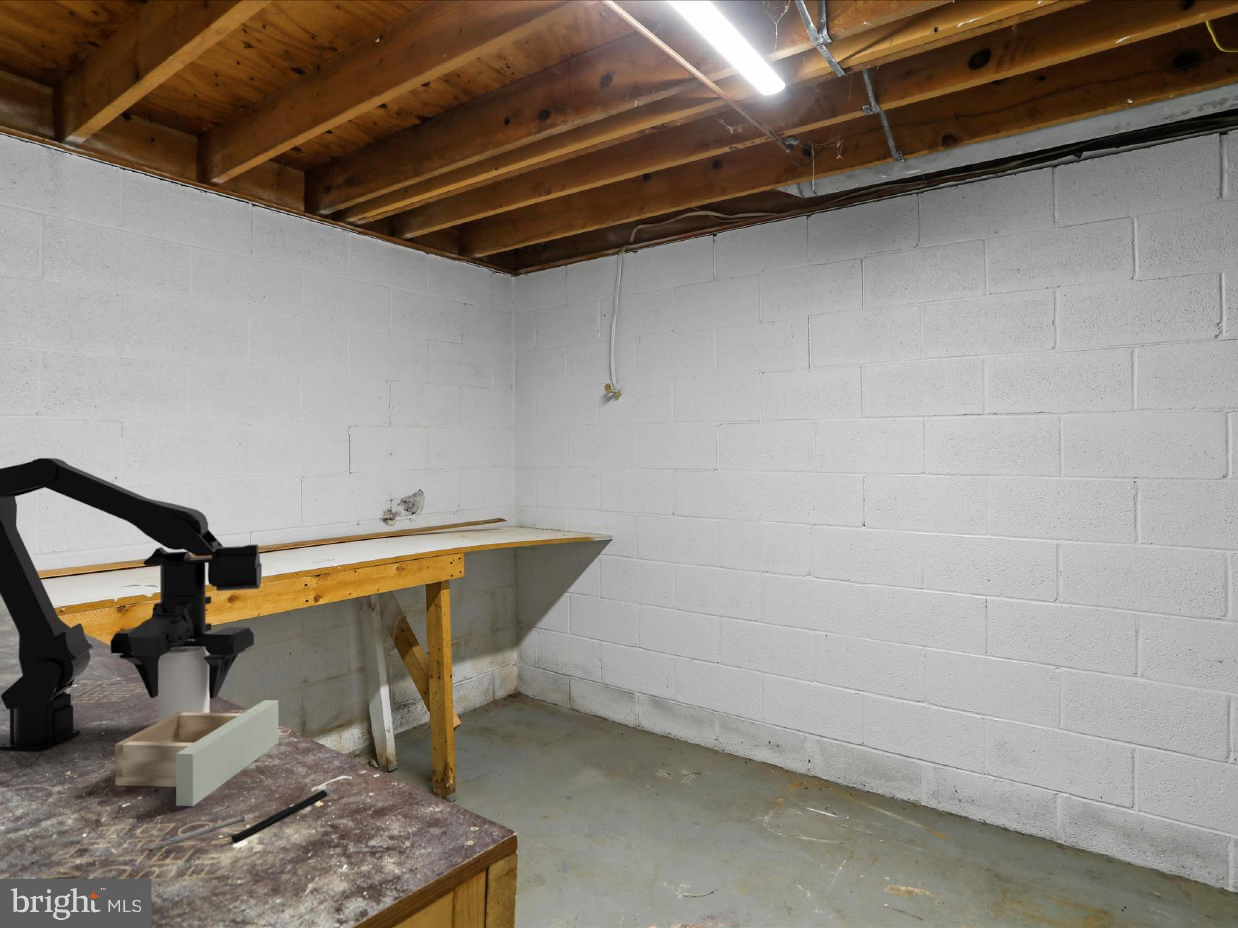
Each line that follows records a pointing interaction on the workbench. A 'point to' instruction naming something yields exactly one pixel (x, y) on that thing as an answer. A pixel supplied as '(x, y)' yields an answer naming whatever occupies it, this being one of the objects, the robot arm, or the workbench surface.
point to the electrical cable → (279, 816)
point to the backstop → (225, 752)
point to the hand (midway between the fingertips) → (183, 697)
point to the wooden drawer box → (162, 748)
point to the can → (183, 681)
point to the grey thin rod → (196, 833)
